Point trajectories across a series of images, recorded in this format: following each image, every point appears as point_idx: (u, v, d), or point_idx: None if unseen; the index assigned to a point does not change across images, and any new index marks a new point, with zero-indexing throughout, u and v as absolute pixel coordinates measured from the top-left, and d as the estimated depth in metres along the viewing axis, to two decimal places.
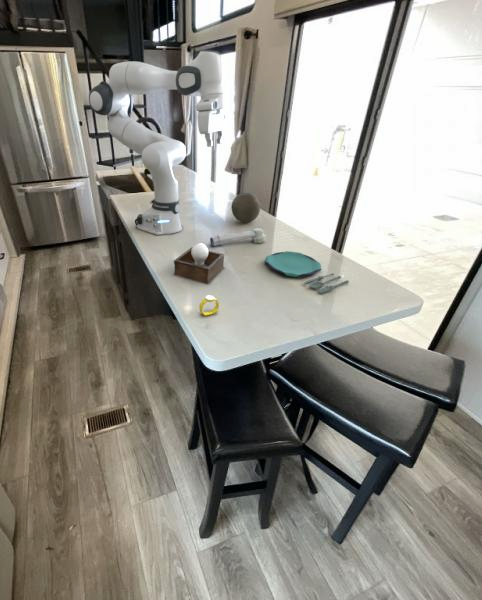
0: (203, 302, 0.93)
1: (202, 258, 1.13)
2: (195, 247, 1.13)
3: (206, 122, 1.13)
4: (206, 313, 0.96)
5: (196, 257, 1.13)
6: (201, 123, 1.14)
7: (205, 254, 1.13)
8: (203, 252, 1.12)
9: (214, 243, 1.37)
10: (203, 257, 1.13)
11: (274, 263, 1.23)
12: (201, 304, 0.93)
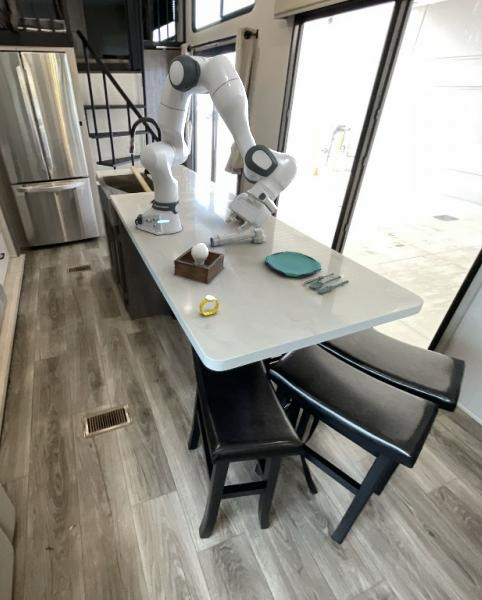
0: (203, 302, 0.93)
1: (202, 258, 1.13)
2: (195, 247, 1.13)
3: (264, 220, 1.05)
4: (206, 313, 0.96)
5: (196, 257, 1.13)
6: (261, 217, 1.04)
7: (205, 254, 1.13)
8: (203, 252, 1.12)
9: (214, 243, 1.37)
10: (203, 257, 1.13)
11: (274, 263, 1.23)
12: (201, 304, 0.93)
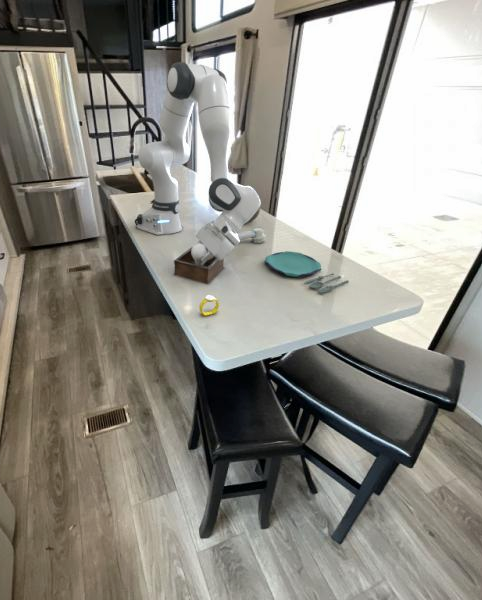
0: (203, 302, 0.93)
1: None
2: (195, 247, 1.13)
3: (227, 253, 1.07)
4: (206, 313, 0.96)
5: (196, 257, 1.13)
6: (223, 250, 1.06)
7: (205, 254, 1.13)
8: (203, 252, 1.12)
9: None
10: None
11: (274, 263, 1.23)
12: (201, 304, 0.93)
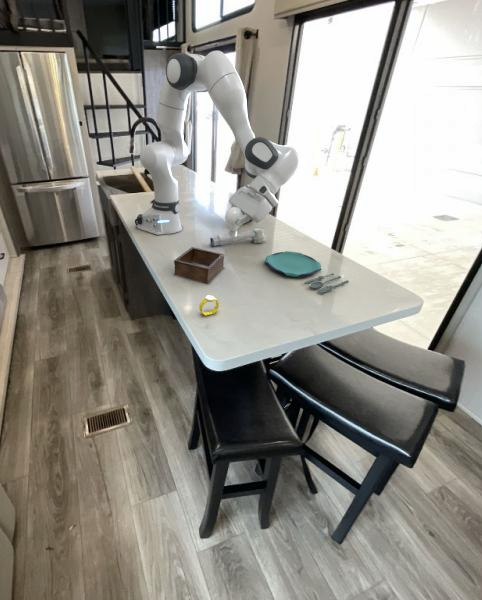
0: (203, 302, 0.93)
1: None
2: (230, 210, 1.09)
3: (265, 214, 1.03)
4: (206, 313, 0.96)
5: (231, 221, 1.09)
6: (262, 211, 1.02)
7: (240, 217, 1.09)
8: (239, 215, 1.08)
9: (214, 243, 1.37)
10: None
11: (274, 263, 1.23)
12: (201, 304, 0.93)
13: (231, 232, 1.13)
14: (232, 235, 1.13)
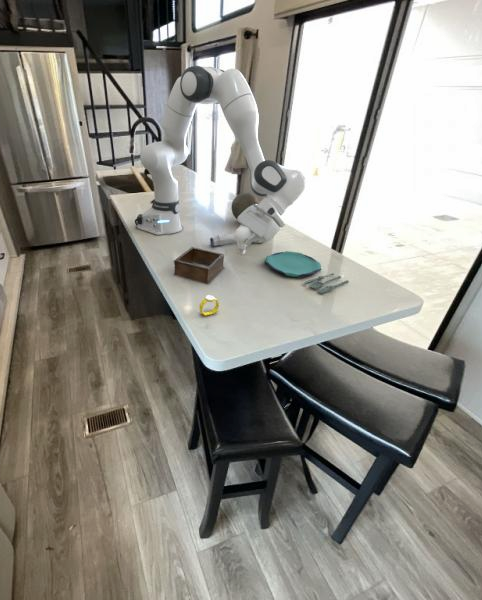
0: (203, 302, 0.93)
1: None
2: (239, 230, 1.14)
3: (273, 234, 1.08)
4: (206, 313, 0.96)
5: (240, 239, 1.14)
6: (270, 231, 1.07)
7: (249, 236, 1.14)
8: (248, 234, 1.13)
9: (214, 243, 1.37)
10: None
11: (274, 263, 1.23)
12: (201, 304, 0.93)
13: (240, 250, 1.18)
14: (241, 253, 1.18)
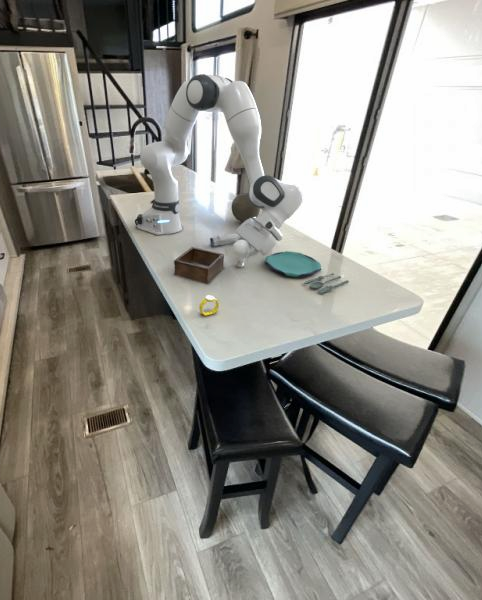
0: (203, 302, 0.93)
1: None
2: (238, 243, 1.16)
3: (271, 248, 1.11)
4: (206, 313, 0.96)
5: (239, 253, 1.17)
6: (268, 245, 1.10)
7: (248, 249, 1.16)
8: (246, 247, 1.16)
9: (214, 243, 1.37)
10: None
11: (274, 263, 1.23)
12: (201, 304, 0.93)
13: (238, 262, 1.21)
14: (239, 265, 1.21)
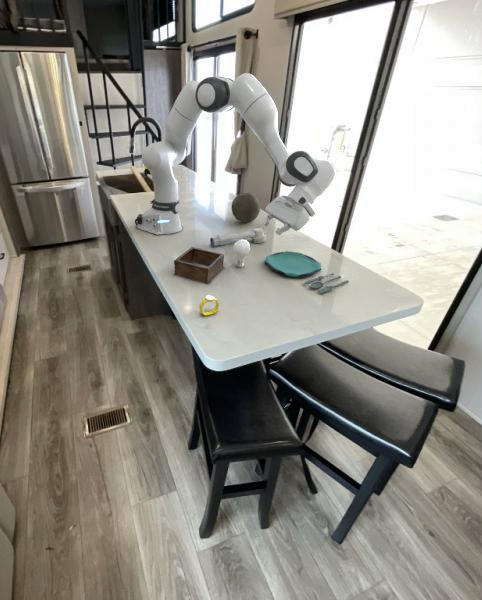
0: (203, 302, 0.93)
1: (244, 254, 1.17)
2: (238, 243, 1.16)
3: (304, 223, 1.11)
4: (206, 313, 0.96)
5: (239, 253, 1.17)
6: (301, 220, 1.10)
7: (248, 249, 1.16)
8: (246, 247, 1.16)
9: (214, 243, 1.37)
10: (245, 253, 1.17)
11: (274, 263, 1.23)
12: (201, 304, 0.93)
13: (238, 262, 1.21)
14: (239, 265, 1.21)
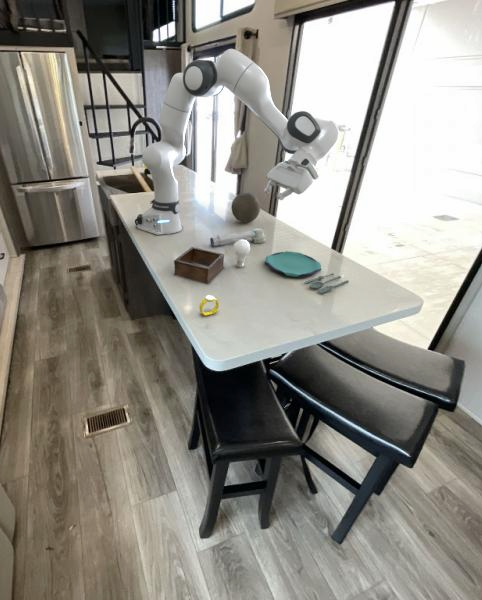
0: (203, 302, 0.93)
1: (244, 254, 1.17)
2: (238, 243, 1.16)
3: (307, 186, 1.07)
4: (206, 313, 0.96)
5: (239, 253, 1.17)
6: (304, 182, 1.06)
7: (248, 249, 1.16)
8: (246, 247, 1.16)
9: (214, 243, 1.37)
10: (245, 253, 1.17)
11: (274, 263, 1.23)
12: (201, 304, 0.93)
13: (238, 262, 1.21)
14: (239, 265, 1.21)
